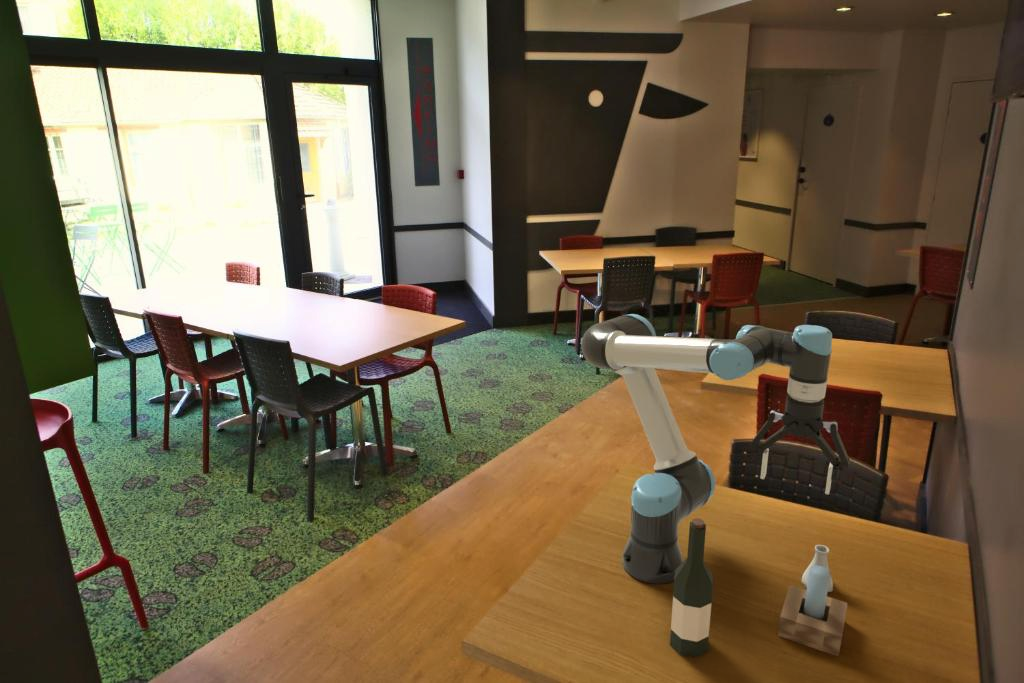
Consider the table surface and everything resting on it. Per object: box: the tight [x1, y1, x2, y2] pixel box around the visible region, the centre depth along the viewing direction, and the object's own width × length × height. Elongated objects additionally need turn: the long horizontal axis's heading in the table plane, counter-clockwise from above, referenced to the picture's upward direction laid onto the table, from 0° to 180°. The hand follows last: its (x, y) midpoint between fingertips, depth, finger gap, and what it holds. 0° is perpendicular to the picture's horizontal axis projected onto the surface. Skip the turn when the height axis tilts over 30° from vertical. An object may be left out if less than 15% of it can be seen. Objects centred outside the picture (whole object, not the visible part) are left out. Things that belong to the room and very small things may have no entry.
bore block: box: [777, 585, 848, 657], centre depth 142 cm, size 12×12×5 cm
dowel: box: [803, 565, 831, 621], centre depth 140 cm, size 4×4×14 cm
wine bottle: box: [669, 518, 714, 659], centre depth 135 cm, size 8×8×30 cm
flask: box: [800, 544, 834, 593], centre depth 156 cm, size 7×7×10 cm
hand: (794, 483), depth 147 cm, fingers open, 13 cm apart
